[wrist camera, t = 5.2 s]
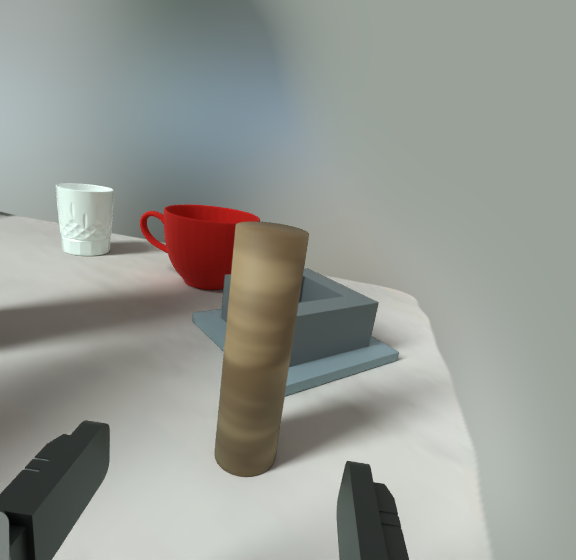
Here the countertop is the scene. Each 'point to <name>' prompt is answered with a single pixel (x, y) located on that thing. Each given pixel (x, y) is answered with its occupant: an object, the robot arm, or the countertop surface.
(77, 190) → the white cup
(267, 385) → the wooden cylinder
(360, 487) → the robot arm
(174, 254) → the ceramic cup
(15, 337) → the countertop surface
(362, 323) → the socket block
